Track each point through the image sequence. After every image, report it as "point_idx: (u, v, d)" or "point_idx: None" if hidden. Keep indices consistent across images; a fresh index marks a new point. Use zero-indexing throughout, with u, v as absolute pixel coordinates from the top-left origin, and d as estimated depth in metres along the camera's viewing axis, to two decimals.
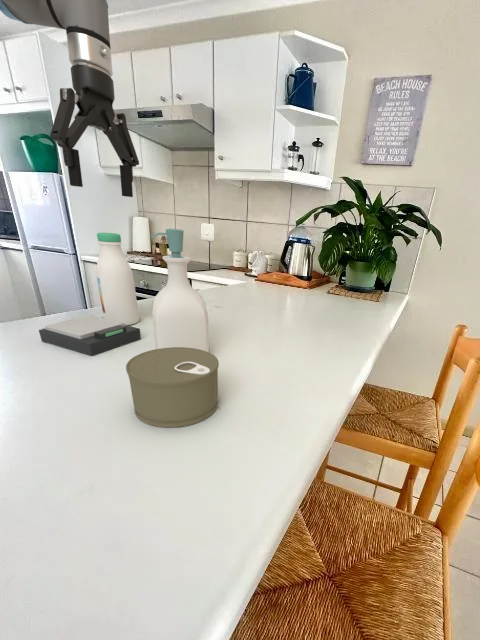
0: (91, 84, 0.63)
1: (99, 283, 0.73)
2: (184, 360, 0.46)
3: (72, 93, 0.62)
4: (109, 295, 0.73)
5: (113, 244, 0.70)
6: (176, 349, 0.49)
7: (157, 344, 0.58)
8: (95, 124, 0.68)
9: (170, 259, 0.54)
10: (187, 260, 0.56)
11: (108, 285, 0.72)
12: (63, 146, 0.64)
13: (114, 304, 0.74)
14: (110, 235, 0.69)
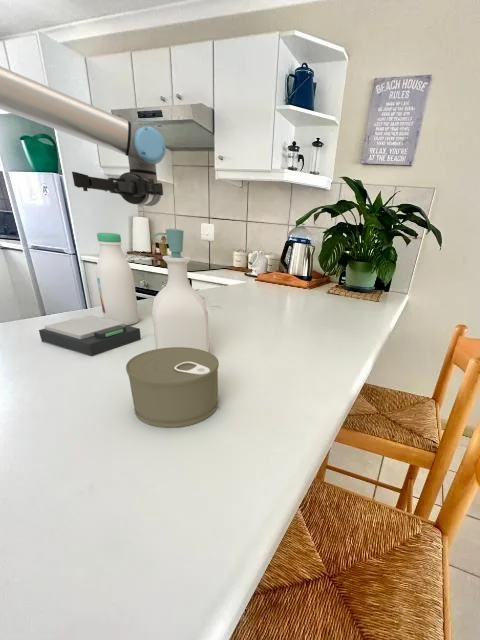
0: (144, 199, 0.90)
1: (99, 283, 0.73)
2: (184, 360, 0.46)
3: (154, 195, 0.87)
4: (109, 295, 0.73)
5: (113, 244, 0.70)
6: (176, 349, 0.49)
7: (157, 344, 0.58)
8: (131, 191, 0.84)
9: (170, 259, 0.54)
10: (187, 260, 0.56)
11: (108, 285, 0.72)
12: (154, 187, 0.79)
13: (114, 304, 0.74)
14: (110, 235, 0.69)
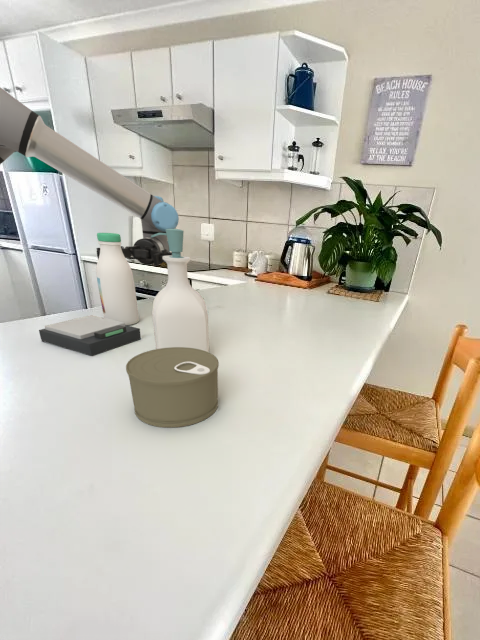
0: None
1: (99, 283, 0.73)
2: (184, 360, 0.46)
3: None
4: (109, 295, 0.73)
5: (113, 244, 0.70)
6: (176, 349, 0.49)
7: (157, 344, 0.58)
8: (146, 257, 0.94)
9: (170, 259, 0.54)
10: (187, 260, 0.56)
11: (108, 285, 0.72)
12: None
13: (114, 304, 0.74)
14: (110, 235, 0.69)
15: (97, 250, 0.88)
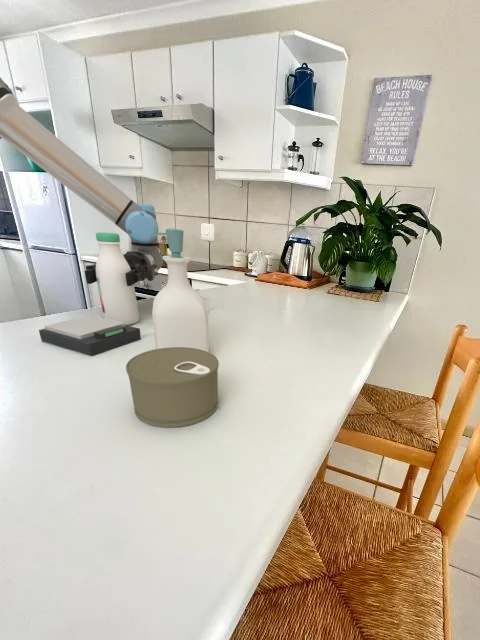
0: None
1: (98, 283, 0.73)
2: (184, 360, 0.46)
3: (155, 275, 0.87)
4: (108, 295, 0.73)
5: (112, 244, 0.70)
6: (176, 349, 0.49)
7: (157, 344, 0.58)
8: None
9: (170, 259, 0.54)
10: (187, 260, 0.56)
11: (107, 285, 0.72)
12: (143, 275, 0.78)
13: (113, 304, 0.74)
14: (109, 235, 0.69)
15: (87, 268, 0.76)
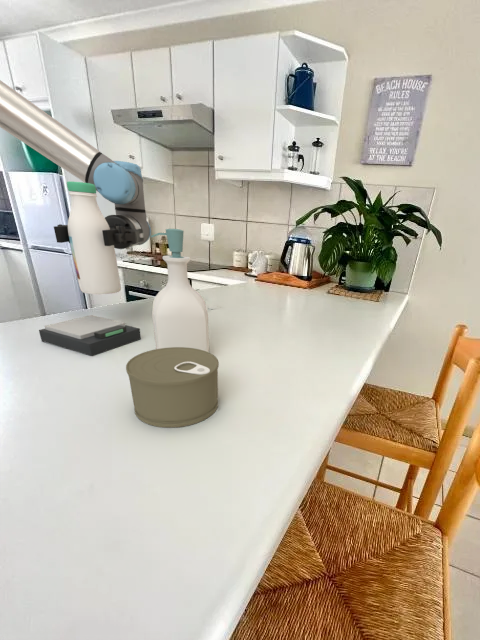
0: (131, 244, 0.79)
1: (71, 243, 0.62)
2: (184, 360, 0.46)
3: (140, 241, 0.76)
4: (83, 257, 0.62)
5: (87, 195, 0.60)
6: (176, 349, 0.49)
7: (157, 344, 0.58)
8: None
9: (170, 259, 0.54)
10: (187, 260, 0.56)
11: (82, 244, 0.62)
12: (125, 236, 0.67)
13: (89, 269, 0.64)
14: (82, 183, 0.59)
15: None
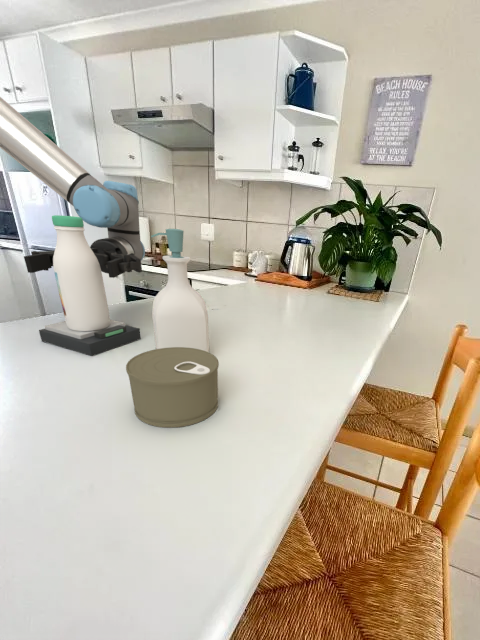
0: None
1: (57, 279, 0.58)
2: (184, 360, 0.46)
3: None
4: (69, 294, 0.59)
5: (73, 229, 0.56)
6: (176, 349, 0.49)
7: (157, 344, 0.58)
8: (104, 264, 0.69)
9: (170, 259, 0.54)
10: (187, 260, 0.56)
11: (67, 281, 0.58)
12: (130, 265, 0.65)
13: (76, 305, 0.60)
14: (68, 218, 0.55)
15: (32, 254, 0.63)
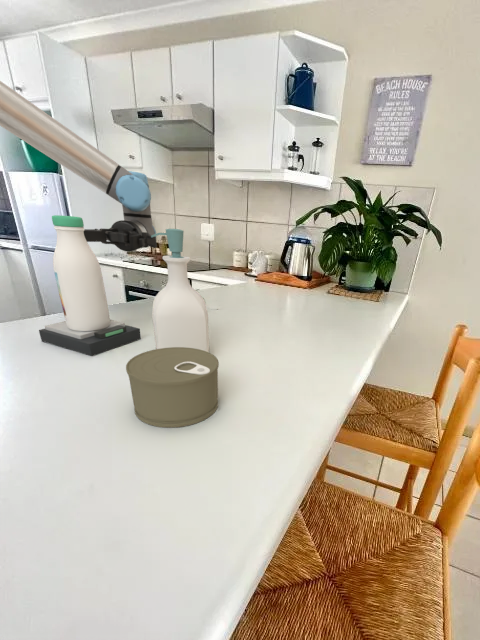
0: None
1: (57, 279, 0.58)
2: (184, 360, 0.46)
3: None
4: (69, 294, 0.59)
5: (73, 229, 0.56)
6: (176, 349, 0.49)
7: (157, 344, 0.58)
8: (124, 242, 0.80)
9: (170, 259, 0.54)
10: (187, 260, 0.56)
11: (67, 281, 0.58)
12: (147, 241, 0.76)
13: (76, 305, 0.60)
14: (68, 218, 0.55)
15: None
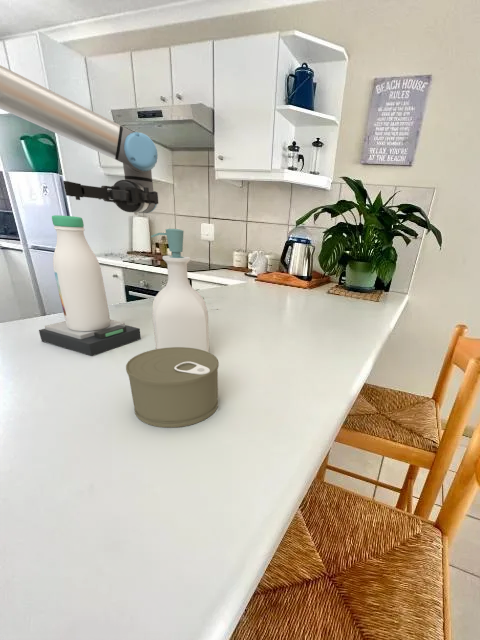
0: (139, 207, 0.87)
1: (57, 279, 0.58)
2: (184, 360, 0.46)
3: (149, 203, 0.85)
4: (69, 294, 0.59)
5: (73, 229, 0.56)
6: (176, 349, 0.49)
7: (157, 344, 0.58)
8: (126, 200, 0.81)
9: (170, 259, 0.54)
10: (187, 260, 0.56)
11: (67, 281, 0.58)
12: (149, 196, 0.77)
13: (76, 305, 0.60)
14: (68, 218, 0.55)
15: None
